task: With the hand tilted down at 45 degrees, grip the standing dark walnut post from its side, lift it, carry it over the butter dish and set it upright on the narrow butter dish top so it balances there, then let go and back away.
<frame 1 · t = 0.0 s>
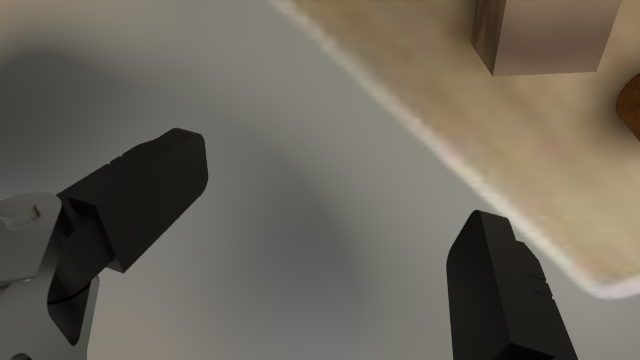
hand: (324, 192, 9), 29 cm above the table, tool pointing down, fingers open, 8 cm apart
post: (510, 6, 28), on the table
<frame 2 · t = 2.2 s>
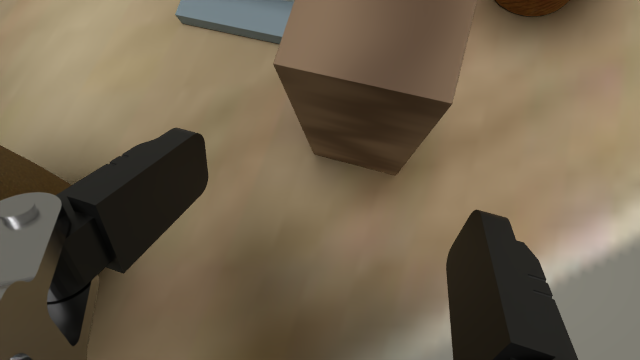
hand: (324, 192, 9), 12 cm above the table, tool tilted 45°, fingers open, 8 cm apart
post: (364, 125, 22), on the table
plant pot: (64, 243, 23), on the table
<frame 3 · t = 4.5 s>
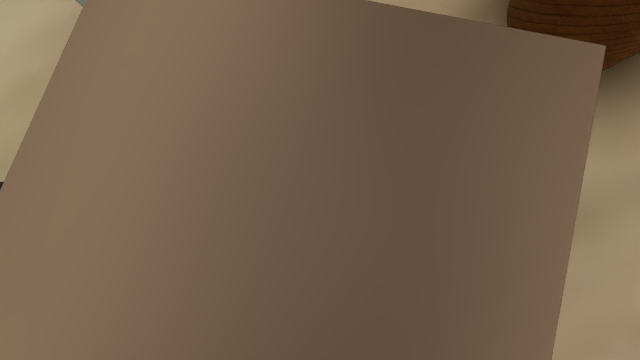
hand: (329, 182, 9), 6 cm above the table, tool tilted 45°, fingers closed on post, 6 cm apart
post: (327, 235, 15), on the table, touching gripper
disposable coffee cup: (568, 21, 16), on the table
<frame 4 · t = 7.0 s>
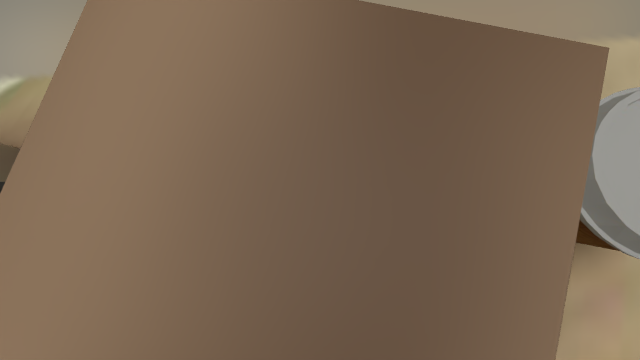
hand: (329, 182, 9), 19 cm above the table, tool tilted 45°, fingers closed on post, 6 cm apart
post: (328, 236, 15), point 13 cm above the table, touching gripper
disposable coffee cup: (539, 199, 26), on the table
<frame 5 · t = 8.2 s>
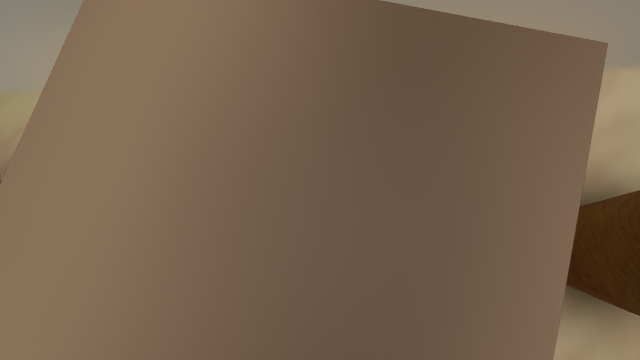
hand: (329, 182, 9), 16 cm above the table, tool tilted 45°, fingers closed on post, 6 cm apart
post: (327, 235, 15), point 10 cm above the table, touching gripper
disposable coffee cup: (585, 249, 23), on the table
when the fingers open (13 cm above the table, at t = 9.4 s): post stays where it is, resting on butter dish.
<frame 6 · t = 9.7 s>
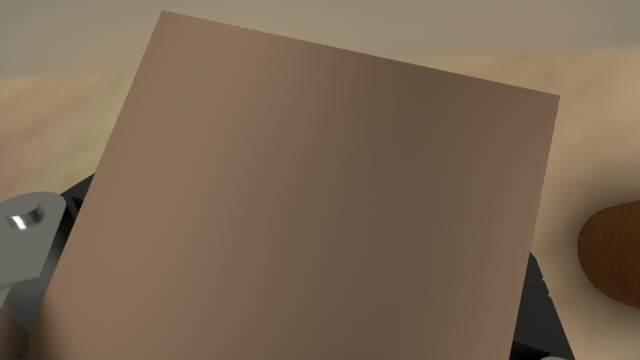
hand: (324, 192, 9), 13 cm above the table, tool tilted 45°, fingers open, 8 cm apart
post: (331, 237, 16), point 6 cm above the table, touching butter dish
disposable coffee cup: (627, 254, 20), on the table
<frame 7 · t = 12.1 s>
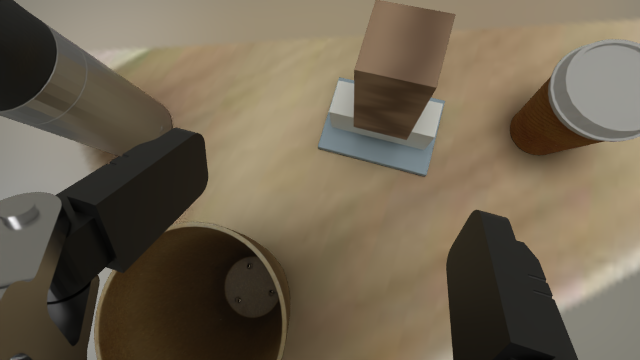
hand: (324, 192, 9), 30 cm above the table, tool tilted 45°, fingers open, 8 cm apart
post: (386, 108, 34), point 6 cm above the table, touching butter dish
plant pot: (254, 287, 38), on the table
butter dish: (380, 126, 40), on the table
disposable coffee cup: (535, 131, 38), on the table
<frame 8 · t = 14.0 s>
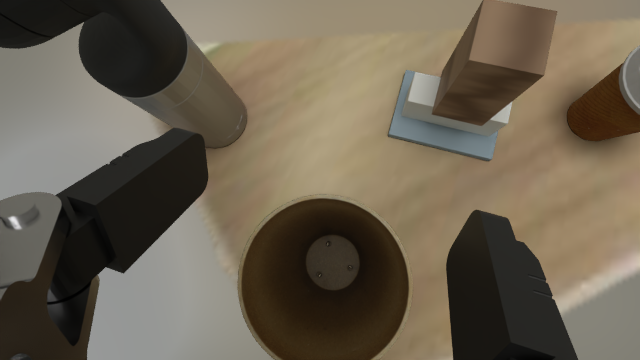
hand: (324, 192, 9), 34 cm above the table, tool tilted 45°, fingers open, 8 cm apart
post: (461, 97, 37), point 6 cm above the table, touching butter dish
plant pot: (333, 263, 41), on the table
butter dish: (445, 115, 43), on the table
disposable coffee cup: (590, 119, 41), on the table
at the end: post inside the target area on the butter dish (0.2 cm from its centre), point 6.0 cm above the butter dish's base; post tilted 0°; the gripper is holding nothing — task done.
